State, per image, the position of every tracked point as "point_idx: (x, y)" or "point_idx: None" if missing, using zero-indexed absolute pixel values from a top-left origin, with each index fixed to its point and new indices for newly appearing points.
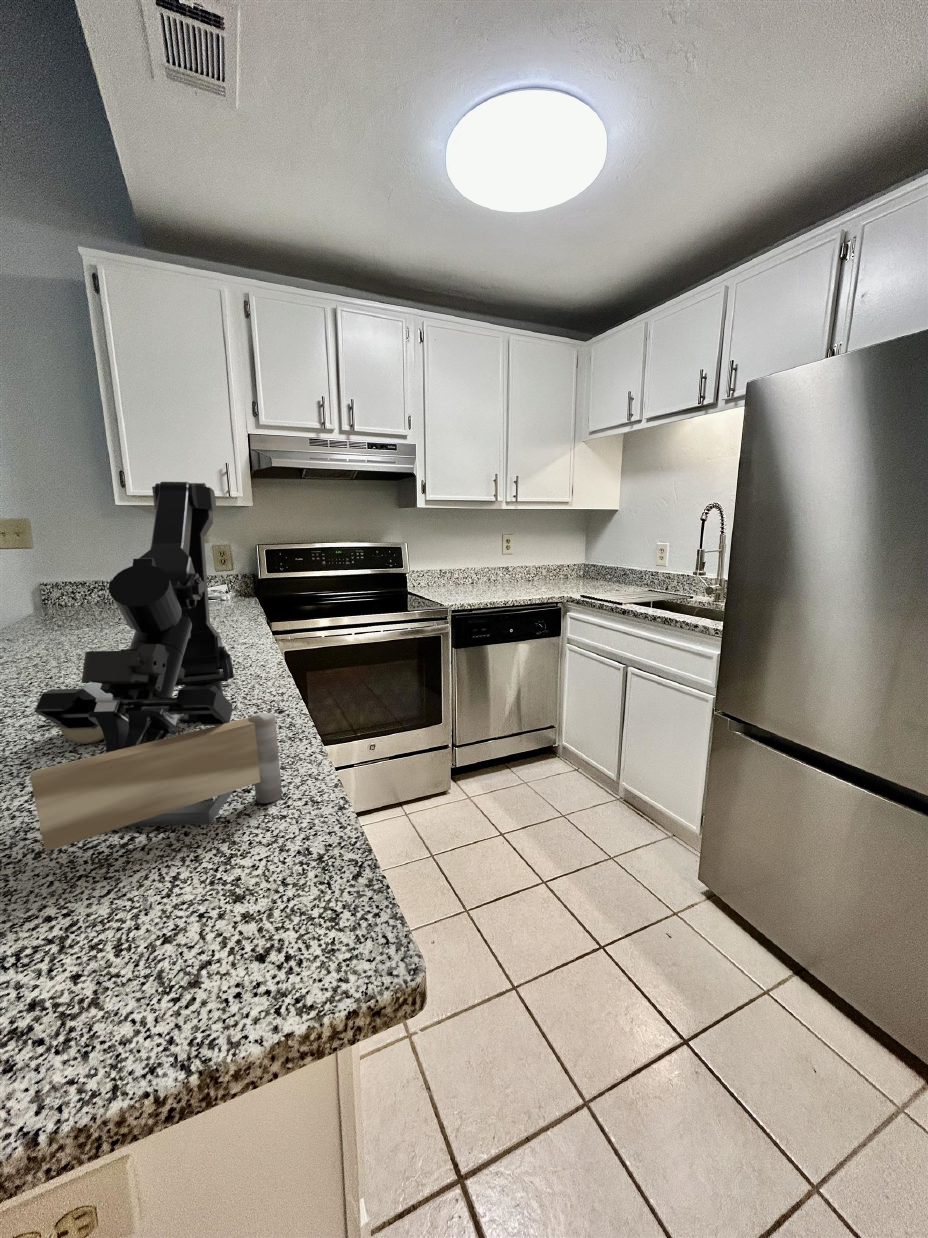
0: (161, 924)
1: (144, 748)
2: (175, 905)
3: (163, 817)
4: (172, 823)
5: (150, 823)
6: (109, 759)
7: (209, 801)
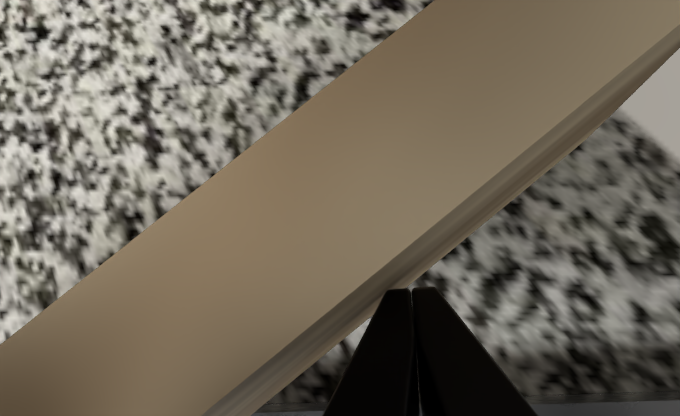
0: (117, 4)
1: (105, 333)
2: (111, 56)
3: (307, 408)
4: (282, 404)
5: None
6: (294, 122)
7: None
